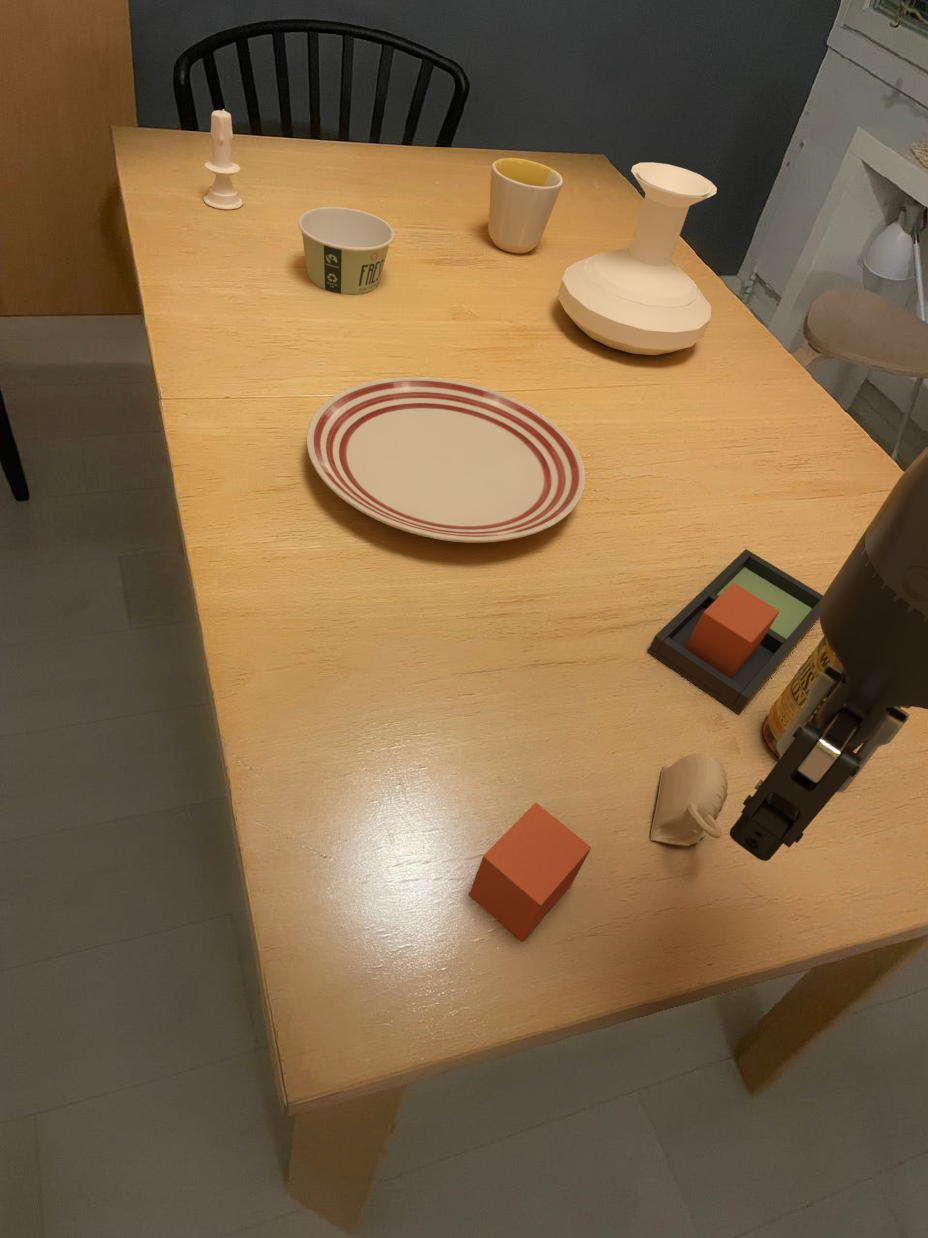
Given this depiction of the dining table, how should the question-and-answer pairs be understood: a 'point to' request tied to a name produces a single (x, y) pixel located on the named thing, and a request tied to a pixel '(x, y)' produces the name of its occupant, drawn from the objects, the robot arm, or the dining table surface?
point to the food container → (344, 248)
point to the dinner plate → (445, 459)
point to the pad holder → (777, 644)
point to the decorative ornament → (689, 800)
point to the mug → (521, 203)
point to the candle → (222, 164)
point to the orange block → (528, 870)
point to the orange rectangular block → (731, 629)
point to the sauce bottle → (796, 695)
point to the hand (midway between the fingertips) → (784, 793)
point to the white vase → (643, 274)
